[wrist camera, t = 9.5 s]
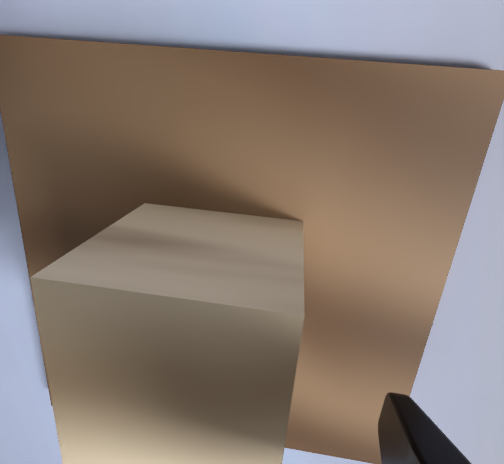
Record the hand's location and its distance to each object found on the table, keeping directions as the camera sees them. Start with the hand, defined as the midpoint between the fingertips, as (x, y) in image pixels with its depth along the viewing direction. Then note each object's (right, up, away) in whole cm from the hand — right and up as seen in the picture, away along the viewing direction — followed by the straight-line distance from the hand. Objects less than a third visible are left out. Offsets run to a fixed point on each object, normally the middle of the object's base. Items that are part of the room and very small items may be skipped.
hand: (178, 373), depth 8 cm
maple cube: (+1, +1, +4) cm, 4 cm away
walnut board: (+1, +2, +4) cm, 5 cm away
